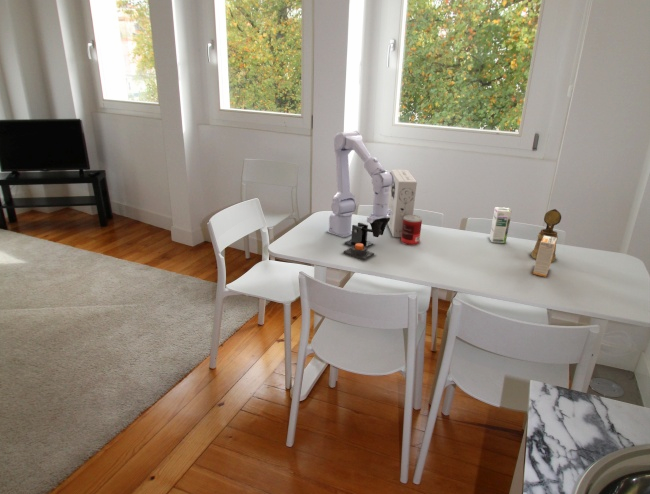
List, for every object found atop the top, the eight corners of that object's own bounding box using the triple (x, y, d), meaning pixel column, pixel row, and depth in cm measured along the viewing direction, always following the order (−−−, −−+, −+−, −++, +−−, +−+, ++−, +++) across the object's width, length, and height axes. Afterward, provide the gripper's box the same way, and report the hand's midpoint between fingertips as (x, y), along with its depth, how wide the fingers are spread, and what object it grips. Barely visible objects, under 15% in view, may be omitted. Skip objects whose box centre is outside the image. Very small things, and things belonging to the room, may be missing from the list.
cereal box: (410, 238, 204) (417, 181, 194) (392, 237, 204) (398, 181, 194) (402, 221, 223) (407, 169, 213) (386, 220, 223) (391, 169, 213)
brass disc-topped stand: (557, 252, 193) (567, 210, 185) (554, 264, 182) (565, 220, 175) (533, 247, 197) (543, 206, 189) (529, 258, 186) (539, 215, 179)
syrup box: (491, 242, 201) (497, 210, 195) (489, 237, 206) (495, 206, 200) (505, 243, 200) (512, 211, 194) (502, 238, 205) (509, 207, 200)
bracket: (373, 245, 195) (374, 225, 192) (362, 250, 190) (363, 230, 186) (355, 239, 201) (356, 220, 197) (344, 244, 195) (345, 224, 191)
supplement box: (546, 277, 171) (555, 244, 165) (532, 274, 173) (540, 241, 168) (549, 269, 177) (557, 237, 172) (535, 266, 179) (543, 234, 174)
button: (353, 248, 184) (353, 244, 184) (358, 246, 187) (358, 242, 186) (360, 251, 183) (360, 246, 182) (364, 248, 185) (365, 244, 184)
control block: (343, 253, 186) (343, 246, 185) (353, 248, 191) (354, 242, 190) (364, 261, 180) (364, 253, 179) (374, 255, 185) (374, 248, 184)
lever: (383, 234, 187) (383, 227, 186) (379, 236, 185) (379, 229, 184) (359, 231, 195) (358, 224, 194) (355, 232, 193) (354, 226, 192)
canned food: (418, 239, 203) (421, 214, 198) (420, 246, 196) (423, 221, 191) (400, 238, 203) (402, 214, 199) (401, 244, 196) (404, 220, 192)
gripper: (379, 209, 174) (376, 243, 180) (399, 201, 184) (396, 233, 190) (363, 205, 178) (361, 238, 184) (384, 197, 189) (381, 229, 194)
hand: (377, 235), depth 187 cm, fingers closed on lever, 3 cm apart
